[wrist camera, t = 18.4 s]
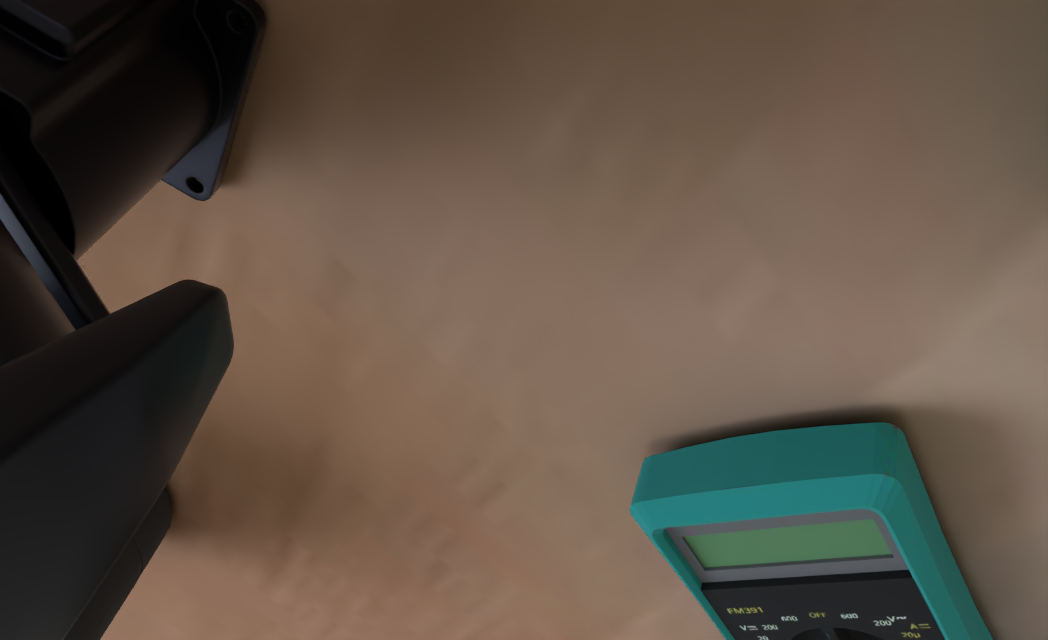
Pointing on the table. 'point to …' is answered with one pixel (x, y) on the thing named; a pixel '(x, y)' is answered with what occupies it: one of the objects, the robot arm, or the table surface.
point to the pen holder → (123, 573)
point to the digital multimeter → (807, 536)
